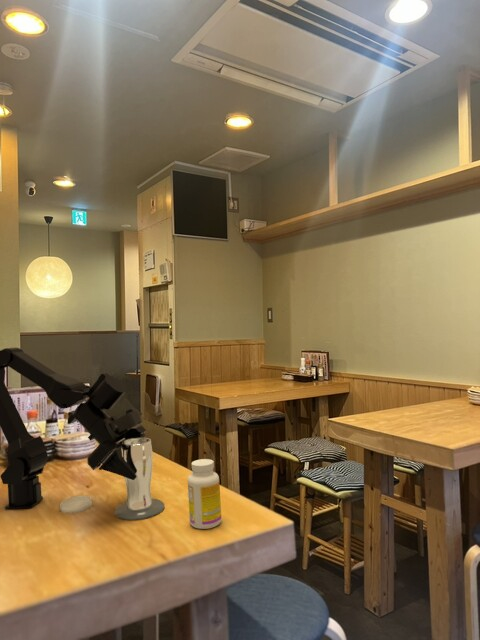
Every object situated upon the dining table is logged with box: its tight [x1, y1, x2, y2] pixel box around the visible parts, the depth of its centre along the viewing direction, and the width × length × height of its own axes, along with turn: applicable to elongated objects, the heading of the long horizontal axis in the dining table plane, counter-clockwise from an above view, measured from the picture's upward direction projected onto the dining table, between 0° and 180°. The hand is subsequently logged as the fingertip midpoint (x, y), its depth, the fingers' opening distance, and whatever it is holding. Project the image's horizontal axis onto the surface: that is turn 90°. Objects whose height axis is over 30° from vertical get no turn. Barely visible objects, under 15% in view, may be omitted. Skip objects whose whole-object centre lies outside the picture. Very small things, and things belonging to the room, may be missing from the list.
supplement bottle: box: [187, 458, 222, 530], centre depth 99 cm, size 7×7×13 cm
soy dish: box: [59, 495, 93, 514], centre depth 112 cm, size 7×7×1 cm
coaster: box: [114, 498, 165, 521], centre depth 108 cm, size 11×11×1 cm
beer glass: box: [122, 437, 154, 512], centre depth 109 cm, size 7×7×15 cm
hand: (143, 472), depth 108 cm, fingers open, 8 cm apart
